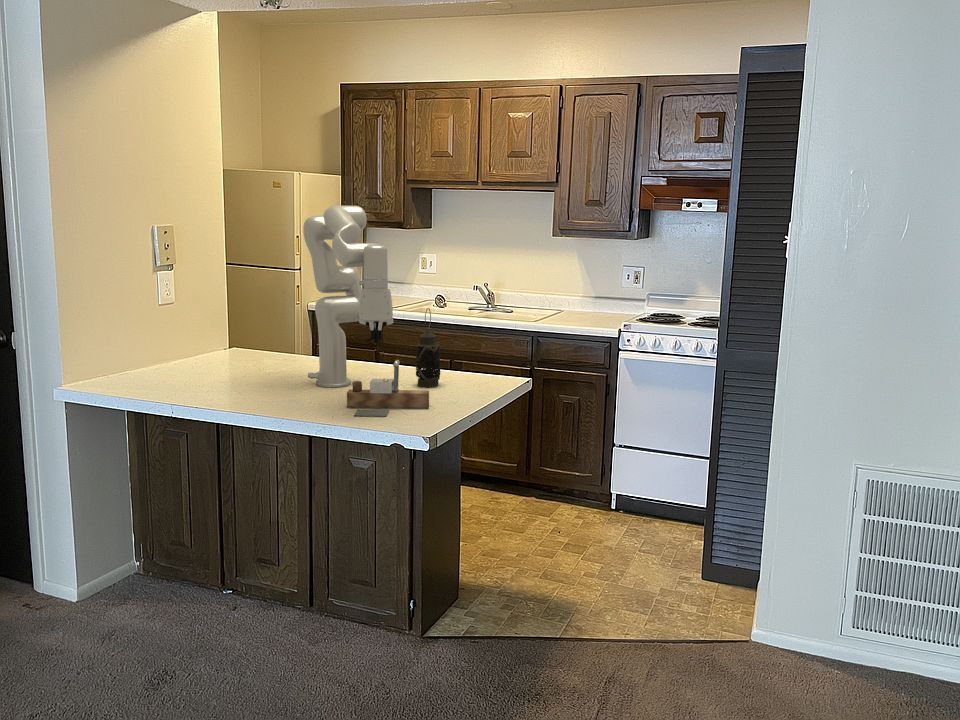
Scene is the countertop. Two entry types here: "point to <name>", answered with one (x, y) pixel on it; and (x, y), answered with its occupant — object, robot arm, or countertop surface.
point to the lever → (396, 374)
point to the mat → (371, 413)
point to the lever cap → (381, 385)
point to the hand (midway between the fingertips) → (376, 342)
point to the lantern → (428, 359)
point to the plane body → (386, 398)
